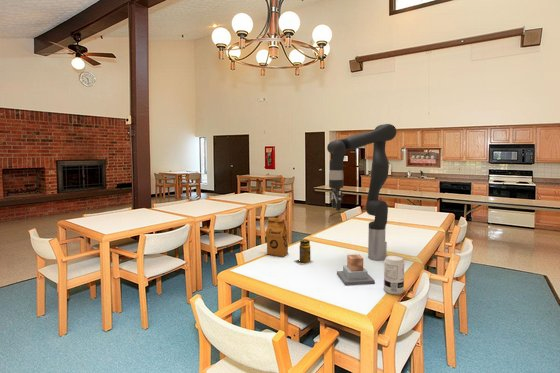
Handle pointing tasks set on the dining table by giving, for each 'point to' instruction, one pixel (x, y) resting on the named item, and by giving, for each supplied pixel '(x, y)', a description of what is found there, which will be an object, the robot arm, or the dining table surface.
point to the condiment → (304, 252)
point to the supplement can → (394, 274)
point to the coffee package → (277, 237)
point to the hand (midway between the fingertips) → (336, 208)
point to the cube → (355, 262)
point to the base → (355, 282)
